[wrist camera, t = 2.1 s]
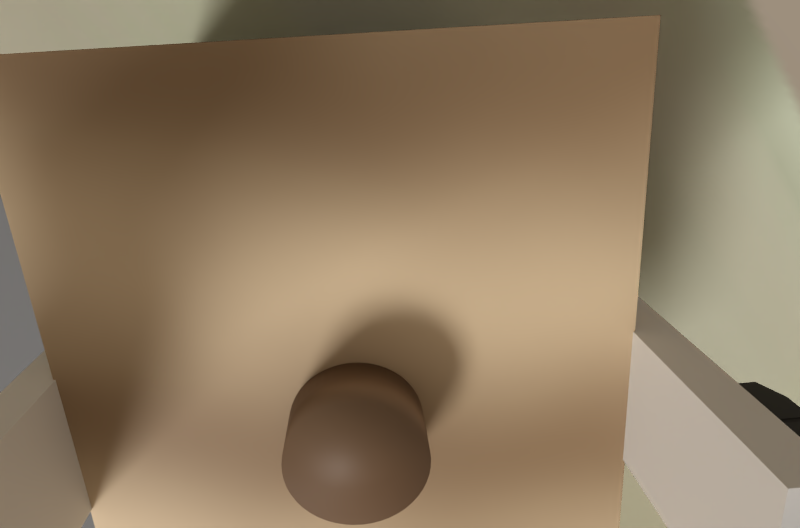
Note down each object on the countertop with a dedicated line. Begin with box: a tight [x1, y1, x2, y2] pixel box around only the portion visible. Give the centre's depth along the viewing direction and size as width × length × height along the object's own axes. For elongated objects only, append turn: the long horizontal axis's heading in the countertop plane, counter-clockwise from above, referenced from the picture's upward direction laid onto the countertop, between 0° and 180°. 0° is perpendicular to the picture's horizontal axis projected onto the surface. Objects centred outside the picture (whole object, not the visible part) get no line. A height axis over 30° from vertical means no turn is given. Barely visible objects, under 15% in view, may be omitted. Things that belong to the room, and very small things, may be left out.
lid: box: [0, 15, 661, 528], centre depth 11 cm, size 13×10×2 cm
